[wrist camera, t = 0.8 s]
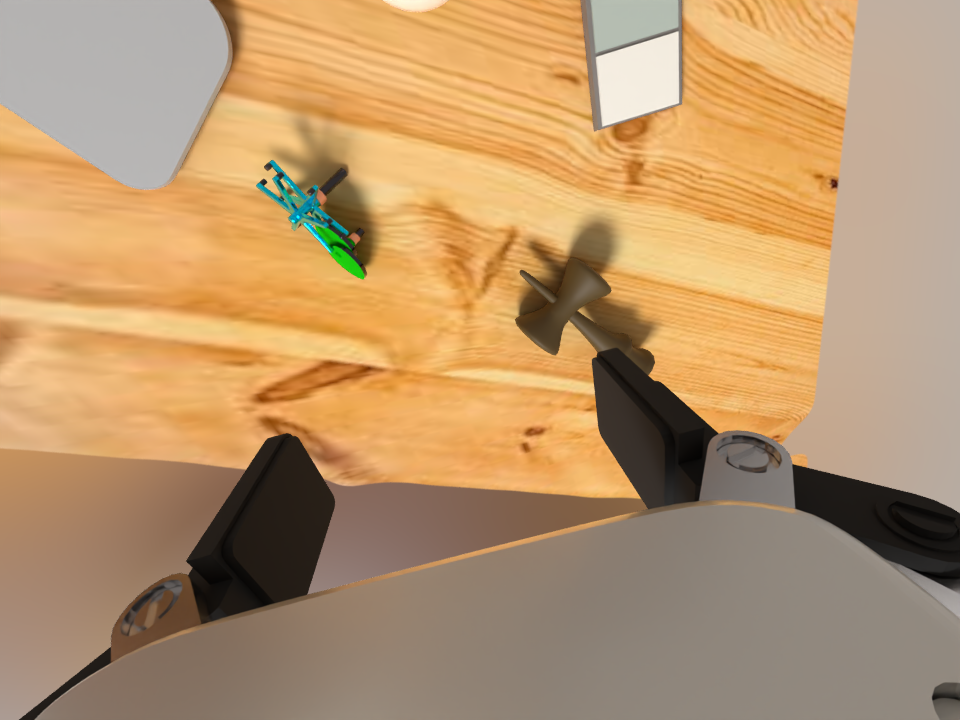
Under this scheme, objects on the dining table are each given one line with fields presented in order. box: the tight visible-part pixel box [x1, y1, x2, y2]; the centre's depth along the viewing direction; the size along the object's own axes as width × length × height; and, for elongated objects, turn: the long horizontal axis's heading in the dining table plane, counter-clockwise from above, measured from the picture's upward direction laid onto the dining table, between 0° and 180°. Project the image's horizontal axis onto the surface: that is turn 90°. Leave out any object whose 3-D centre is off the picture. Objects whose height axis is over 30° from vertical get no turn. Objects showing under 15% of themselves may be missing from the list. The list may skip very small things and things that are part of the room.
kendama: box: [515, 258, 655, 375], centre depth 40 cm, size 6×10×20 cm
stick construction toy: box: [256, 160, 367, 279], centre depth 33 cm, size 12×7×8 cm
